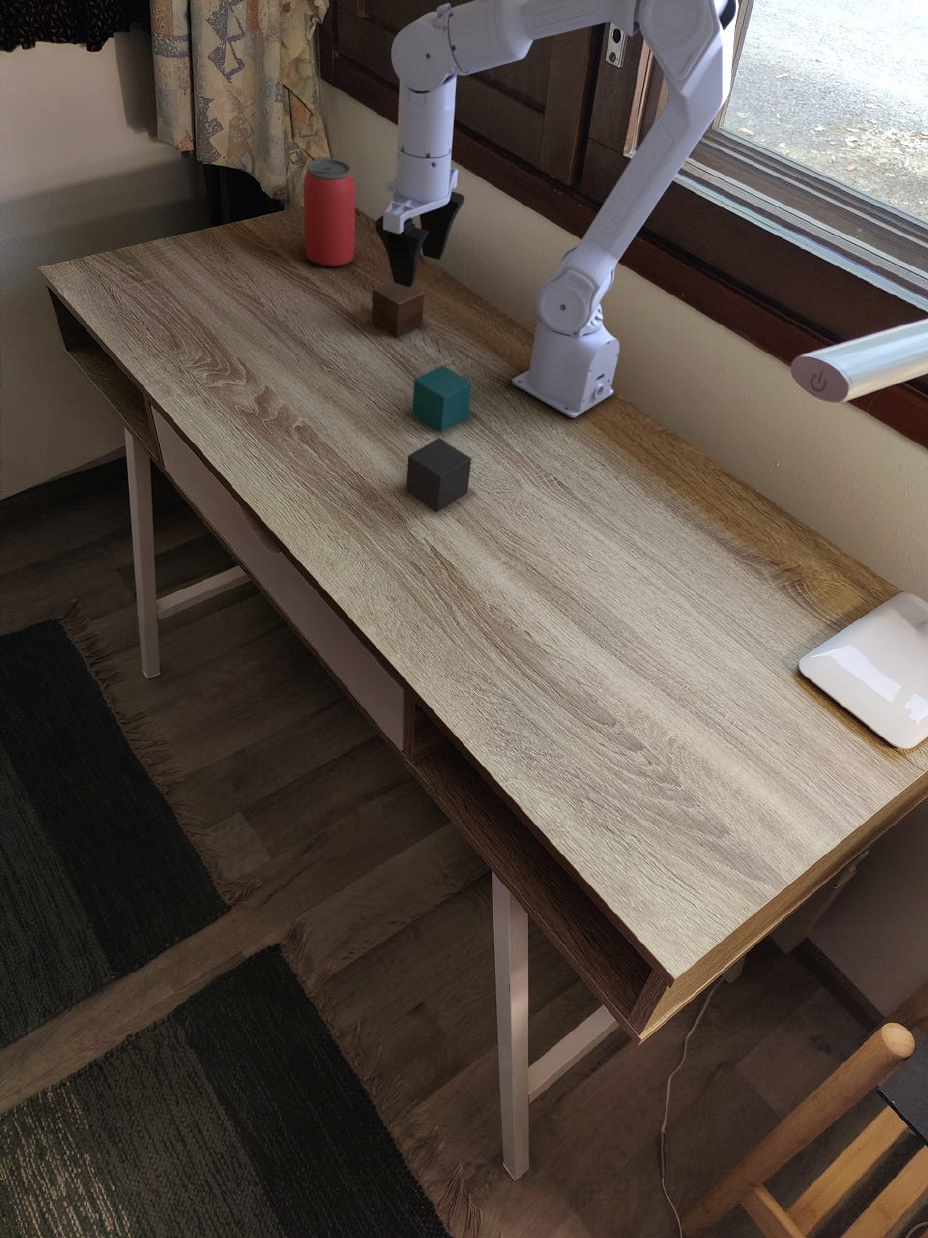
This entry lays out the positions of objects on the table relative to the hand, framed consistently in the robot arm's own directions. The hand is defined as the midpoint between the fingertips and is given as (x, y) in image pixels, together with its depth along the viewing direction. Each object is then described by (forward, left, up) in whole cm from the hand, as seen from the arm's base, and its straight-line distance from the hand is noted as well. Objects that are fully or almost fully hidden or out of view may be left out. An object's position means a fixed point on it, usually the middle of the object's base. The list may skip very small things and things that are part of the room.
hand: (418, 269), depth 110 cm
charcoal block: (-21, +18, -10) cm, 30 cm away
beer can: (+23, -7, -10) cm, 25 cm away
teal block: (-12, +8, -10) cm, 18 cm away
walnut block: (+5, -2, -10) cm, 11 cm away
